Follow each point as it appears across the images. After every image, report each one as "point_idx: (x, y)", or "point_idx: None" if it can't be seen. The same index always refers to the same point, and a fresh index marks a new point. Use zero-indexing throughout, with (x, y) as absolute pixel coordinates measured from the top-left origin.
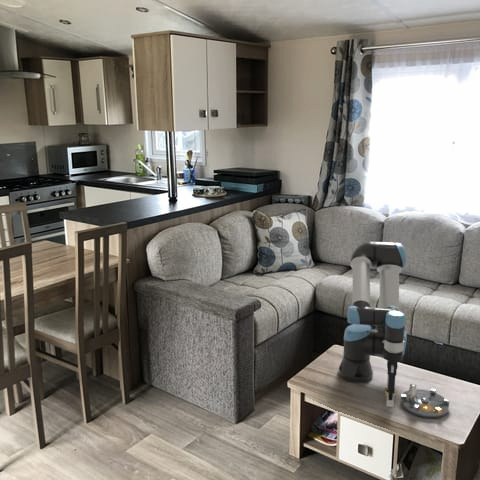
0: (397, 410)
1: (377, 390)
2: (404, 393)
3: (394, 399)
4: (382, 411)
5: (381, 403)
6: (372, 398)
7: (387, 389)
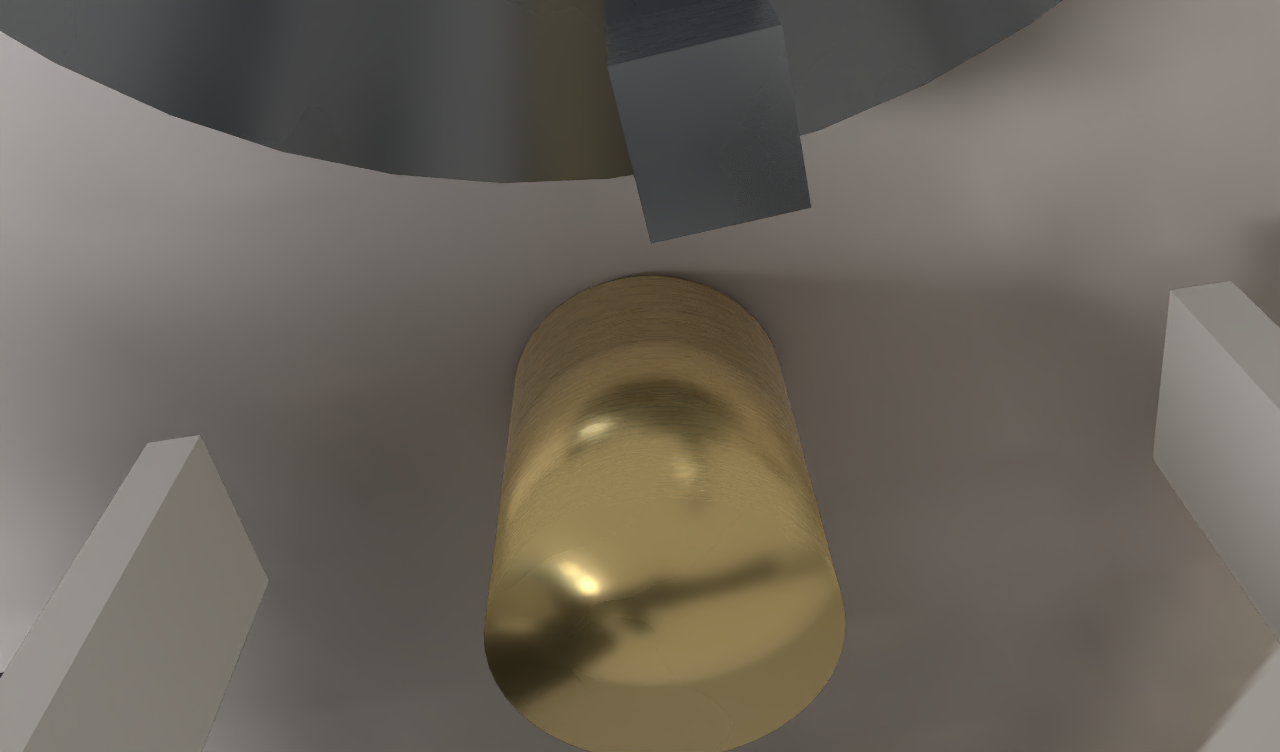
0: (1103, 118)
1: (322, 680)
2: (302, 112)
3: (688, 315)
4: None
5: (869, 517)
6: None
7: (731, 705)
